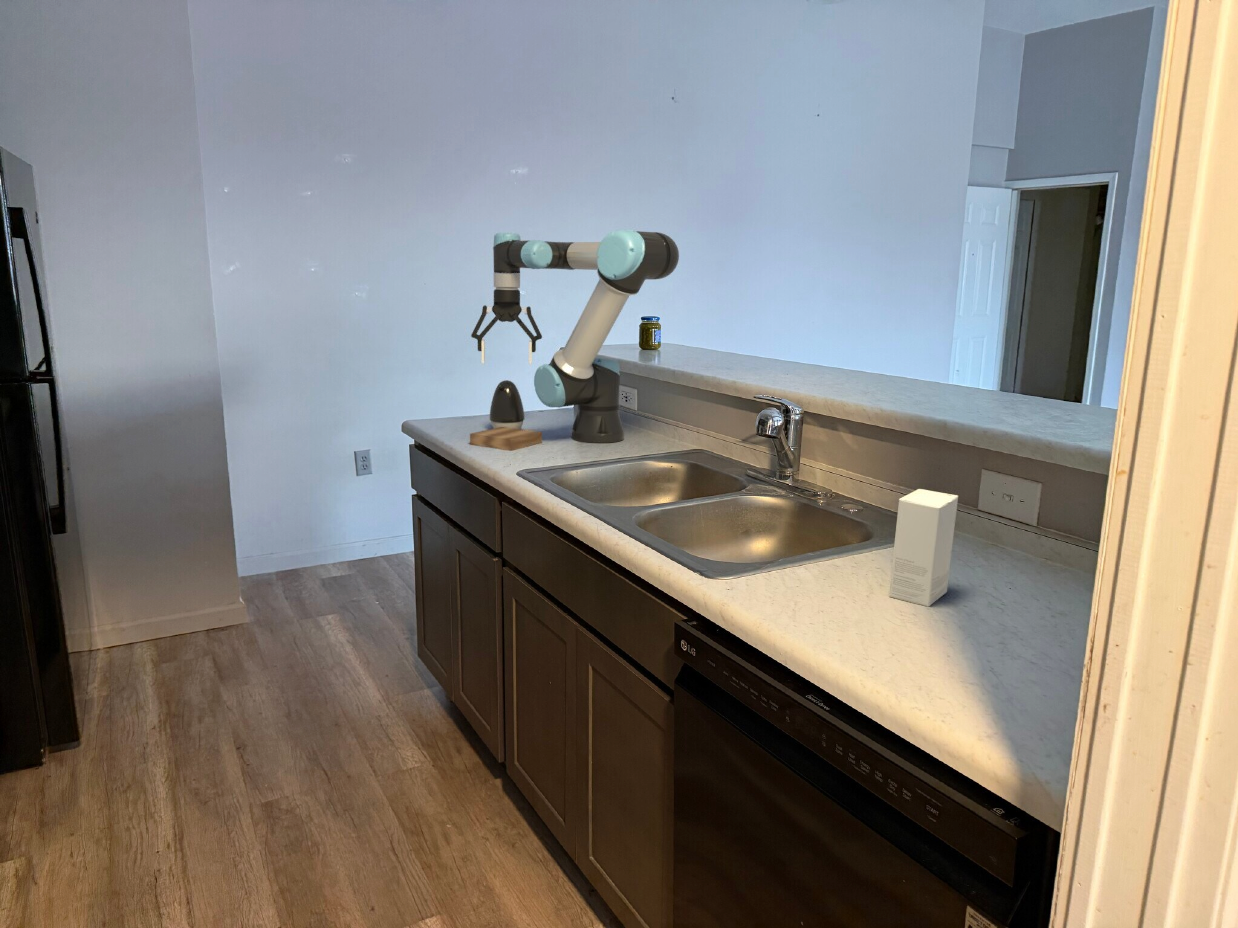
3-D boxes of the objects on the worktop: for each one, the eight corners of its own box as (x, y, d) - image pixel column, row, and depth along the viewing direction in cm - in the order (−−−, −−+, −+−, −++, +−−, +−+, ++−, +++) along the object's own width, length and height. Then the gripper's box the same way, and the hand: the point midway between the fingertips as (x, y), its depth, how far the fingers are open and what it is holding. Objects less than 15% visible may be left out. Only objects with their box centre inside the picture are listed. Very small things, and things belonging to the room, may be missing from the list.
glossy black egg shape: (483, 433, 260) (482, 381, 257) (499, 427, 270) (498, 377, 266) (515, 435, 257) (514, 383, 253) (530, 429, 267) (529, 379, 263)
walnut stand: (541, 442, 248) (542, 432, 247) (511, 450, 236) (511, 439, 235) (501, 437, 254) (501, 426, 254) (470, 444, 243) (470, 433, 242)
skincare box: (908, 583, 140) (917, 487, 137) (950, 593, 136) (961, 495, 133) (887, 597, 134) (896, 497, 131) (930, 608, 130) (941, 505, 127)
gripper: (550, 289, 259) (549, 362, 264) (463, 287, 257) (464, 361, 261) (551, 290, 252) (550, 365, 257) (461, 288, 250) (462, 363, 254)
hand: (506, 363), depth 259 cm, fingers open, 13 cm apart
